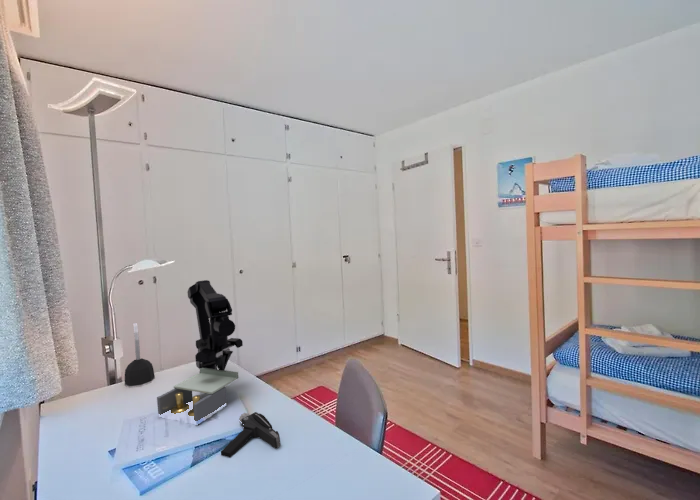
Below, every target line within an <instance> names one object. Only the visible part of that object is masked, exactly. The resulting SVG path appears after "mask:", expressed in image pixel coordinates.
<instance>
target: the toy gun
mask: <svg viewBox="0 0 700 500" xmlns="http://www.w3.org/2000/svg"><path fill="white" fill-rule="evenodd" d="M239 420H240V421H241V422H242V424H244V425H242V424H241V425H242V430H241V431H240V432H239V433H238V435H236V436H235V437H234V438H233V439H232V440H231V441H230V442H229V443H228V444H227V445H226V446H224V448H223V449H222V450H220V455H221V456H224V457H227V458H231V457H232V456H233V455H235V454H236V453H237V452H238V451H239V450H240V449H241V448H242V447H243V446H244V445H245V444H246V443H247V442H248V441H249V440H250V439H251V438H255V439H256V438H259V439H261V440H262V441H263V442H265V444H268V445H270V446H271V447H272V448H274V449H275V450H277V449H278V448H280V447H281V438H280V434H279V431H277V430H275V429H274V428H273V425H272V424H271V423H270V421H269V420H268V418H266V416H265V415H263V414H262V413H259V412H257V411H256V412H252V413H251V414H250V413H248V412H243V413H242V414H240V416H239V419H238V421H239ZM240 421H239V422H240ZM243 427H244V428H243Z"/></svg>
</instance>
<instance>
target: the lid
mask: <svg viewBox="0 0 700 500" xmlns="http://www.w3.org/2000/svg"><path fill="white" fill-rule="evenodd" d="M239 375H240V374H239V371H232V370H219V369H218V368H217V369H209V368H200V369H199V373H197V374H196V375H193V376H192V377H189V378H187V379H185V380H183V381H182V382H179V383H177V384H175V385H173V389H175V388H177V389H183V390H189V391H192V392H194V393H195V392H196V393H202V394H208V395H209V394H213V393H215V392H216V391H218V390H220V389H221V388H223V387H227V386H228V385H230V384H232V383H233V382H235V381H237V380H238V379H239V378H240V376H239Z"/></svg>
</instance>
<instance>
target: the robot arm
mask: <svg viewBox="0 0 700 500" xmlns="http://www.w3.org/2000/svg"><path fill="white" fill-rule="evenodd" d="M187 298H188V299H189V302H190V304H191V305H192V307H194V308H195V314H196V319H197V327H198V332H199V339H196V340H195V346H196V349H197V353H196V354H195V357H194V358H195V366H196V367H197V368H198V369H199V370H200V368H209V369H217V370H225V369H226V367H227V365H228V362H229V360H230V358H231V356H232V354H233V353H234V351H233V350H231V349H230V348H232V347H234V346H235V347H236V348H237V349H238V348H241V347H243V346H244V345H243V340H242V339H241V338H237V337H236V338H234V337H230V336H232V335H233V334H234V332H235V330H236V325H235V322H234V321H233V320H231V319H230V316H232V315H233V309H232V305H231V303H230V301H229V300H228V298H227V297H226V296H225V295H224V294H222V293H217V291H216V290H215V288H214V287H213V285H212V284H211V281H210V280H208V279H206V280H198V281H196V282H195V283H194V284H193V285H191V286H189V288H188V290H187ZM228 337H230V338H228ZM225 371H226V370H225Z"/></svg>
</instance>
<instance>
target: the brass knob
mask: <svg viewBox="0 0 700 500" xmlns="http://www.w3.org/2000/svg"><path fill="white" fill-rule="evenodd" d="M192 398H193V404H194V403H196V402H198V401H199V400H201V395H198V394H196V395H192ZM188 415H189V416H194V407H193V409H192V410H190V411H189V412H188Z"/></svg>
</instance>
